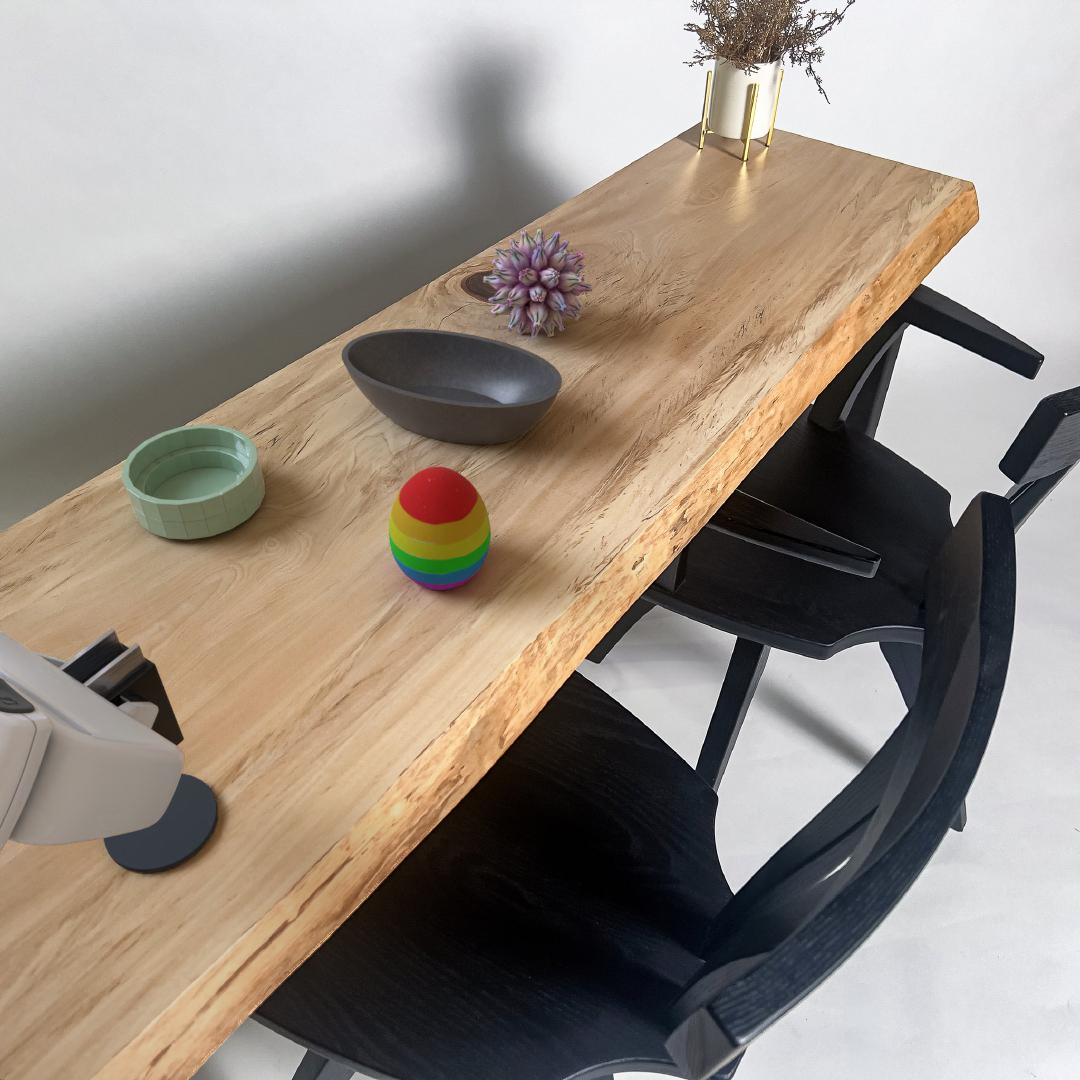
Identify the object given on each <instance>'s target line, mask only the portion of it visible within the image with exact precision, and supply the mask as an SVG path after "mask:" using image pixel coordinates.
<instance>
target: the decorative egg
mask: <svg viewBox="0 0 1080 1080" xmlns="http://www.w3.org/2000/svg"><path fill="white" fill-rule="evenodd" d="M491 529H492V528H491V523H490V516H489V513H488V510H487V507H486V504H485V502H484V499H483V498H482V497H481V494H480V493H479V491H478V490H477V488H476V487H475V486H474V485H473V484H472V482H471V481H470V480H468V479H467V478H466V477H465V476H464V475H462V474H461V473H459V472H458V471H456V470H453V469H452V468H449V467H446V466H431V467H427V468H424V469H422V470H420V471H417V472H416V473H414V475H412V476H411V477H410V478H409V479H408V480H407V481H406V482H405V483H404V484H403V486H402V487H401V488H400V490H399V492H398V493H397V495H396V497H395V499H394V502H393V504H392V507H391V510H390V515H389V519H388V540H389V547H390V549H391V550H390V551H391V553H392V556H393V557H394V558H393V559H394V561H395V562H396V564H397V566H398V568H399V569H400V571H402V573H403V574H404V575H405V576H406V577H407V578H408V579H409V580H410V581H412V582H414V583H415V584H417V585H419V586H420V587H422V588H425V589H429V590H434V591H435V590H436V591H447V590H452V589H456V588H458V587H461V586H463V585H464V584H466V583H467V582H469V581H470V580H471V579H472V578H474V577H475V576H476V575H477V573H478V572H479V571H480V569H482V566H483V565H484V563H485V561H486V559H487V557H488V553H489V551H490V545H491V537H492V530H491Z"/></svg>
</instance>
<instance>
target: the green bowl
mask: <svg viewBox="0 0 1080 1080" xmlns="http://www.w3.org/2000/svg"><path fill="white" fill-rule="evenodd" d="M121 470H122V471H121V481H122V485H123V487H124V490H125V492H126V495H127V498H128V501H129V504H130V506H131V510H132V513H133V515H134V517H135V518H136V521H137V523H138V524H139V526H141V527H142V528H144V529H145V530H147V532H149V533H151V534H153V535H156V536H160V537H163V538H165V539H172V540H196V539H202V538H210V537H213V536H216V535H219V534H222V533H224V532H225V533H226V532H228V531H231V530H232V529H234V528H236V527H238V526H239V525H241V524H243V523H244V522H245V521H247V520H249V519H250V518H251V517H252V516H253V515H254V513H255V512H257V511H258V509H259V508H260V507H261V505H262V502H263V500H264V497H265V496H266V486H265V479H264V474H263V469H262V465H261V460H260V455H259V451H258V447H257V446H256V444H255V443H254V442H253V440H252V439H251V437H250V436H248V435H246V434H244V433H243V432H241V431H240V430H238V429H237V428H236V429H235V428H232V427H229V426H225V425H221V424H206V423H205V424H204V423H201V424H193V425H192V424H191V425H182V426H179V427H175V428H172V429H169V430H166V431H162V432H159V433H158V434H156V435H154V436H152V437H150V438H148V439H146V440H144V441H143V442H142V443H141V444H139V445H138V446H136V448H134V449H133V450H132V451H131V452H130V453H129V454H128V456H127V458H126V460H125V461H124V463H123V464H122V469H121Z"/></svg>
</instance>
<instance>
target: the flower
mask: <svg viewBox="0 0 1080 1080" xmlns="http://www.w3.org/2000/svg"><path fill="white" fill-rule="evenodd" d="M544 231H545V230H544V229H543V228H537V230H536V233H535V236H534V237H533V238H532V237H531V235H530V234H529V231H528V230H527V229H522V230H520V231H519V236H520V238H519V242H517V241H516V240H515V239H514V238H513V237H511V238H510V240H508V242H509V244H510V248H509V250H505V249H501V248H499V246H495V247H494V249H493V253H494V254H495V255H496V256H497V258H498V259H496V258H493V259H492V260H491V264H492V265H493V266H495V267H496V268H497V269H495V268H494V269H492V271H491V274H490V275H487V276H486V275H485V276H483V279H482V280H483V281H482V283H485V284H488V285H490V286H491V287H492V288H493V289H494V290H496V293H495V294H494V295H493V296H492V297H489V298H488V299H487V300H488V303H489V304H490V305H491V306H492V305H495V306H494V307H493V308H492V309H490V313H491V315H492V316H493V318H496V317H498V316H509V324H508V325H507V329H508V332H512V331H514V329H515V328H516V327H517V326H518V329H517V333H518V334H520V335H523V333H524V331H525V330H526V329H527V328H528V329H529V332H530V335H531V336H530V337H531V338H530V339H531V340H535V339H538V335H539V332H540V330H541V329H543V330H544V331H545V333H546V335H547V337H548V338H550V337H551V338H552V336H553V337H554V336H555V331H554V330H555V328H557V329H558V330H559V331H560V332H565V327H564V324H563V320H564V318H571V319H573V320H575V321H579V318H580V316H581V315H580V314H581V313H583V311H584V310H585V306H584V305H582V304H580V302H579V299H578V297H579V296H581V294H583V293H591V292H593V289H592V288H593V285H592V284H589V283H585V277H584V276H583V275H578V274H579V273H580V271H581V270H583V269H584V268H585V264H584V262H582V261H583V260H584V259H585V258H586V256H585V255H584V252H583V251H579V252H577V253H574V254H571V251H570V250H569V248H568V246H569V243H570V240H567V239H564V240H563V241H562V243H560V238H561V231H554V233H553V235H552V237H550V239H549V240H547V239H546V238H545V232H544Z"/></svg>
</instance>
